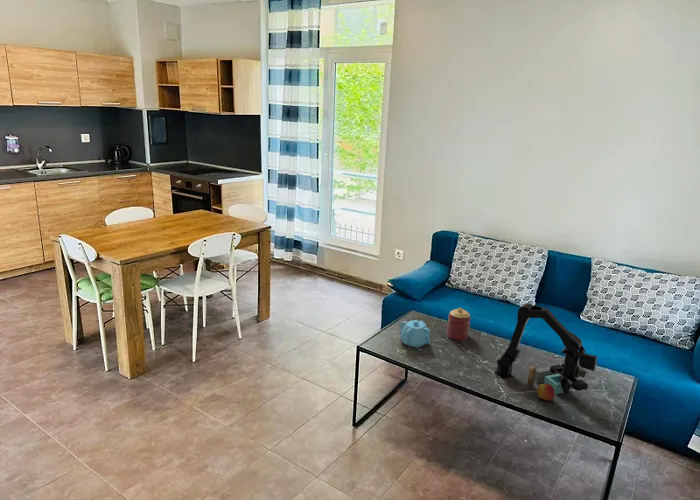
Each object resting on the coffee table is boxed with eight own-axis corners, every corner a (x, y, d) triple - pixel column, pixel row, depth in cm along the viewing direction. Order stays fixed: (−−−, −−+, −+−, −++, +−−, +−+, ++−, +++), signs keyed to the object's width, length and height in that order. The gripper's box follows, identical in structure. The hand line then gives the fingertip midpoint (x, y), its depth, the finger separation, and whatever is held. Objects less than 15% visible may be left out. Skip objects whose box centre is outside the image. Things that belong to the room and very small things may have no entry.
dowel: (529, 388, 237) (532, 369, 234) (525, 385, 240) (528, 366, 237) (534, 387, 238) (537, 368, 235) (530, 384, 241) (533, 365, 238)
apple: (555, 399, 229) (558, 384, 227) (549, 406, 223) (552, 391, 221) (539, 392, 234) (542, 377, 231) (532, 399, 228) (535, 384, 226)
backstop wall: (536, 383, 242) (538, 372, 240) (532, 380, 245) (534, 369, 243) (566, 378, 248) (568, 367, 246) (562, 375, 250) (563, 364, 249)
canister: (472, 339, 286) (476, 311, 281) (452, 341, 282) (455, 313, 277) (461, 330, 297) (464, 303, 293) (442, 332, 294) (445, 304, 289)
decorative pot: (398, 336, 286) (399, 314, 282) (425, 336, 287) (427, 315, 283) (402, 349, 271) (403, 327, 267) (431, 350, 271) (433, 327, 268)
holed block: (554, 394, 233) (556, 384, 232) (543, 385, 240) (544, 376, 239) (568, 391, 235) (570, 382, 234) (556, 383, 243) (558, 374, 241)
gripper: (600, 371, 222) (594, 401, 226) (570, 352, 239) (565, 380, 243) (580, 374, 218) (574, 405, 222) (551, 355, 235) (546, 384, 239)
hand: (565, 393), depth 232 cm, fingers closed
